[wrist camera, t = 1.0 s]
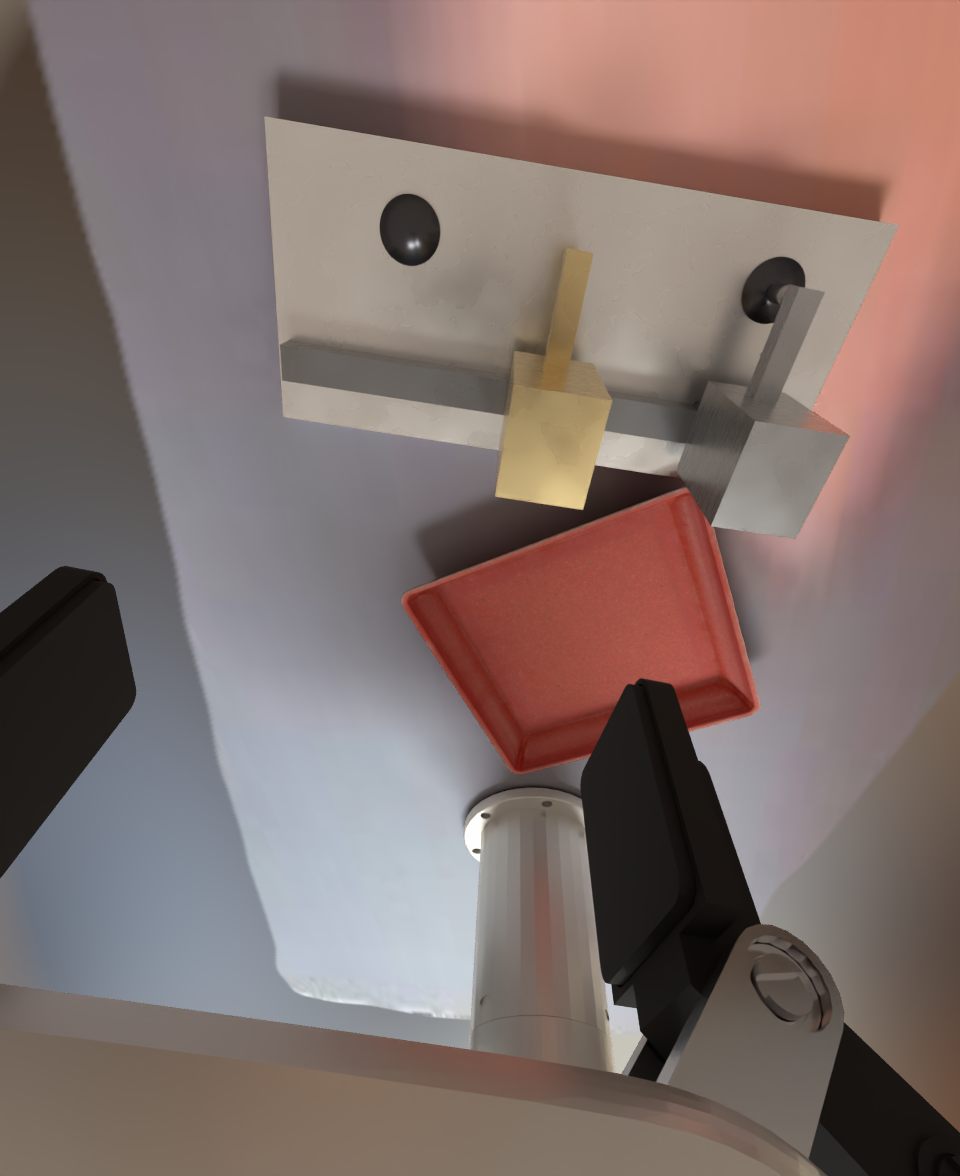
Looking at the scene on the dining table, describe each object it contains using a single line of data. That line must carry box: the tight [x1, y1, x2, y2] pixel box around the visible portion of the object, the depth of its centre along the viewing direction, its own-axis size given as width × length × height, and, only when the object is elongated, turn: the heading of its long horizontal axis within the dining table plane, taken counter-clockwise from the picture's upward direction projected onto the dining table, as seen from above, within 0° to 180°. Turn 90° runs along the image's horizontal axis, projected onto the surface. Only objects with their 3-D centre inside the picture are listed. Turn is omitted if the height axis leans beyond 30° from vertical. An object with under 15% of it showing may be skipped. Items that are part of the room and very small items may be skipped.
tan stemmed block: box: [495, 247, 612, 510], centre depth 23 cm, size 9×4×7 cm, turn 172°
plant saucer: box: [401, 486, 761, 774], centre depth 36 cm, size 18×18×3 cm
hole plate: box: [264, 116, 899, 539], centre depth 23 cm, size 12×26×9 cm, turn 82°
